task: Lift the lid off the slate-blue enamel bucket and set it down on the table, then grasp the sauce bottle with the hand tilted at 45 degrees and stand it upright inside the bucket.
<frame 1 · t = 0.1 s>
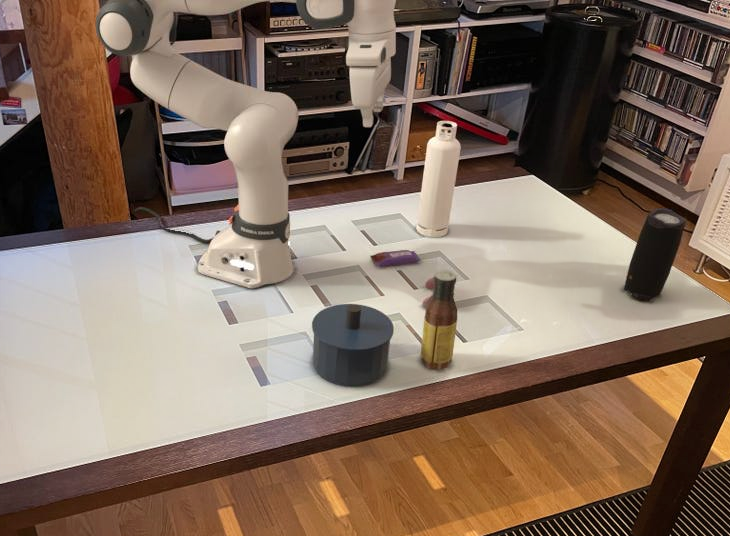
hand: (373, 118, 152), 39 cm above the table, tool pointing down, fingers open, 8 cm apart
video game controller: (436, 299, 172), on the table
bucket lid: (352, 328, 146), point 8 cm above the table, touching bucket
sauce bottle: (434, 362, 152), on the table
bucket: (349, 363, 151), on the table
bottle: (431, 230, 199), on the table
portable speaker: (640, 293, 176), on the table
snack package: (395, 262, 185), on the table
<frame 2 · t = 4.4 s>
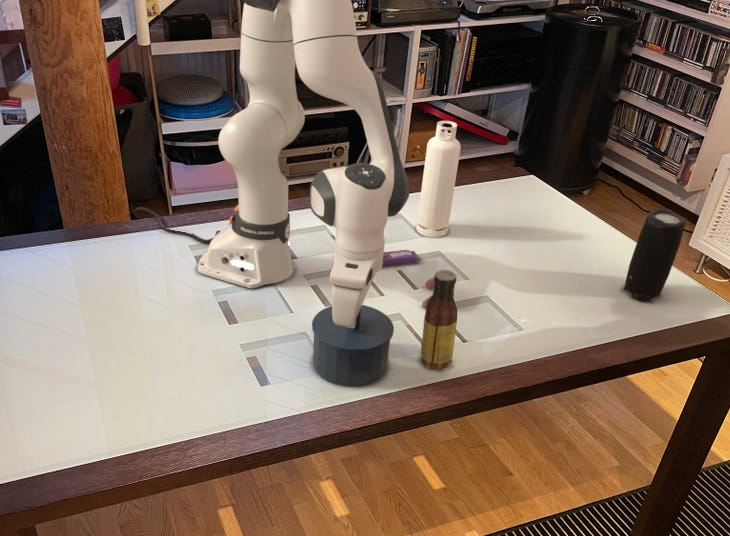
hand: (353, 320, 145), 10 cm above the table, tool pointing down, fingers closed on bucket lid, 2 cm apart
bucket lid: (352, 328, 146), point 9 cm above the table, touching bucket, gripper
everything else where it was.
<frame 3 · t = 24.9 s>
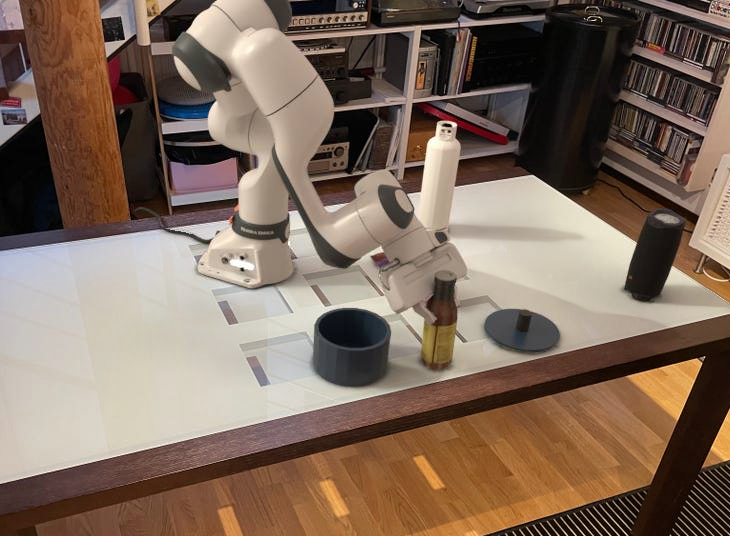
hand: (445, 315, 145), 11 cm above the table, tool tilted 45°, fingers closed on sauce bottle, 6 cm apart
bucket lid: (521, 330, 161), point 1 cm above the table
sauce bottle: (434, 362, 152), on the table, touching gripper
everything else where it was.
when the fingers open (12 cm above the table, at t = 34.1 s): sauce bottle stays where it is, resting on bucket.
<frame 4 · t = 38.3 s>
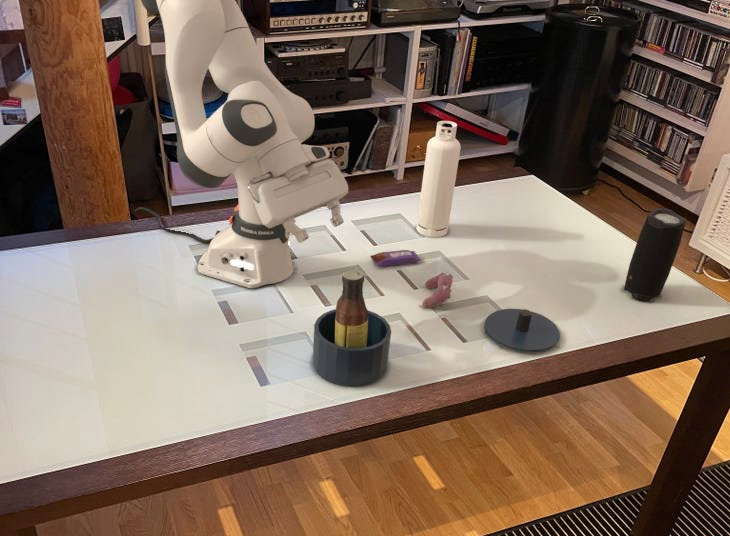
hand: (322, 232, 141), 25 cm above the table, tool tilted 45°, fingers open, 8 cm apart
sauce bottle: (348, 362, 150), resting on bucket
everything else where it was.
at the end: bucket lid inside the target area (0.1 cm from its centre), point 0.6 cm above the table; sauce bottle inside the target area in the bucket (0.2 cm from its centre), point 0.3 cm above the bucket's base; sauce bottle tilted 0° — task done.
